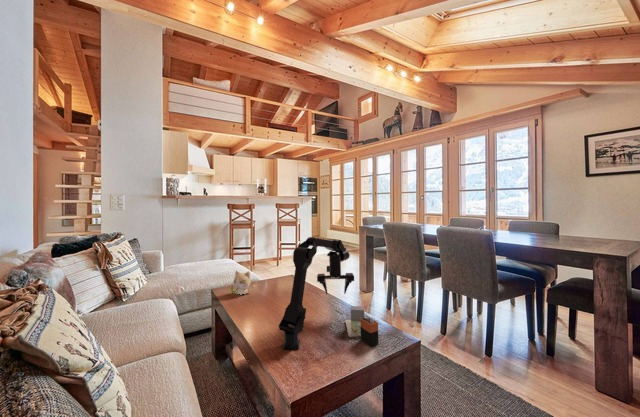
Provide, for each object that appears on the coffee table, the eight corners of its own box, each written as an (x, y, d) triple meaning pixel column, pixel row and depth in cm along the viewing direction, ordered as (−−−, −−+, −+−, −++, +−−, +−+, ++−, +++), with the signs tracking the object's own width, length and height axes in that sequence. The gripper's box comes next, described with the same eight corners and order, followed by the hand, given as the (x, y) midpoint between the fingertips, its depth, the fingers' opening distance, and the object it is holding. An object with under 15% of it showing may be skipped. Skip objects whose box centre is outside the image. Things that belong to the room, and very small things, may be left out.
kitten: (226, 296, 169) (226, 272, 169) (236, 290, 179) (235, 268, 179) (247, 297, 165) (246, 273, 165) (256, 292, 175) (255, 269, 174)
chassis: (371, 336, 115) (371, 328, 115) (348, 336, 115) (348, 328, 115) (366, 321, 129) (366, 314, 129) (345, 322, 129) (345, 314, 129)
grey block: (364, 327, 115) (364, 313, 115) (350, 327, 116) (350, 313, 116) (364, 315, 127) (363, 303, 127) (351, 315, 128) (351, 302, 128)
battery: (368, 337, 114) (367, 314, 114) (379, 344, 108) (378, 320, 108) (360, 339, 112) (359, 316, 112) (370, 347, 106) (370, 322, 106)
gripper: (351, 259, 144) (352, 288, 145) (317, 260, 144) (317, 289, 145) (354, 264, 133) (354, 295, 134) (316, 265, 133) (317, 296, 134)
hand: (335, 293), depth 137 cm, fingers open, 9 cm apart
